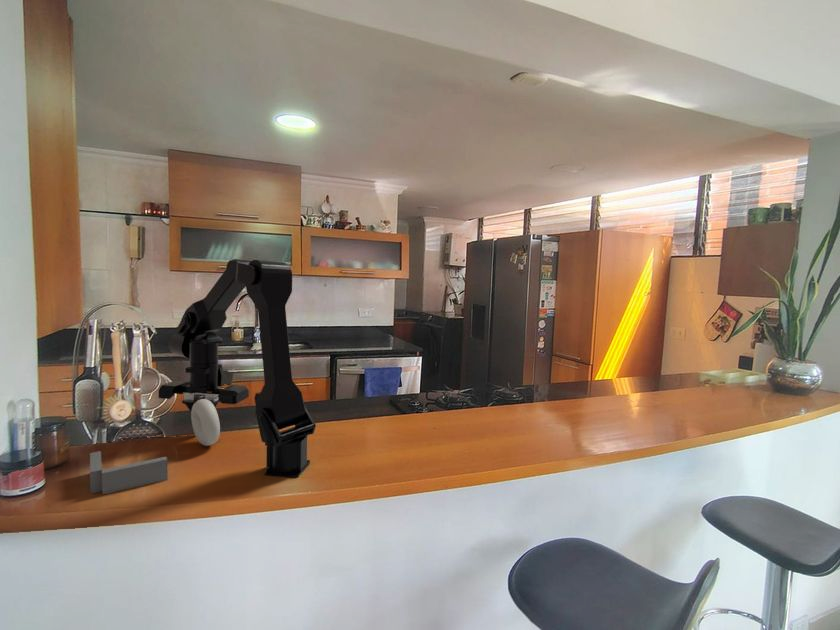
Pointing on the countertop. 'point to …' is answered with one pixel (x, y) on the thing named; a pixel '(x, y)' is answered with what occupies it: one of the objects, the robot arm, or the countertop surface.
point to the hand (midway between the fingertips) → (204, 428)
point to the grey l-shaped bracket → (125, 474)
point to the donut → (205, 422)
